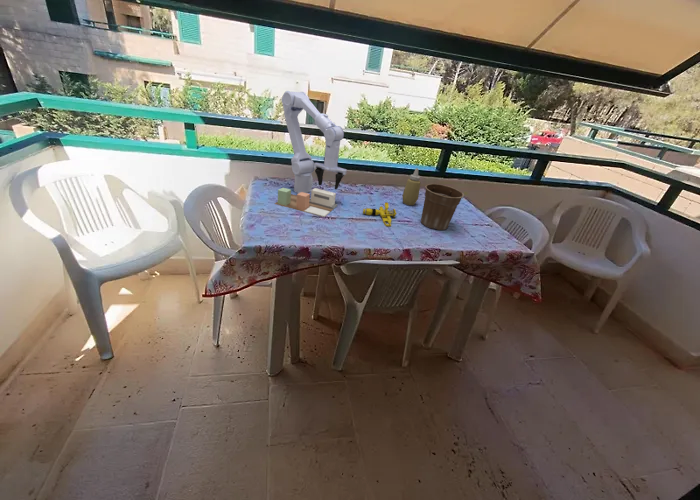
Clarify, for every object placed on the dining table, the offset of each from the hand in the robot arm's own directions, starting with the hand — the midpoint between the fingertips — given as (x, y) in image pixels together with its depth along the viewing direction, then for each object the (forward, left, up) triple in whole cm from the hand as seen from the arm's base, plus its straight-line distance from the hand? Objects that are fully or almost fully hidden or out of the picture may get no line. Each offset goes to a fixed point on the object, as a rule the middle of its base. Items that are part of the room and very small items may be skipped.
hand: (328, 186), depth 145 cm
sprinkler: (-1, +25, -8) cm, 27 cm away
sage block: (+14, -14, -7) cm, 21 cm away
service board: (+10, -6, -8) cm, 14 cm away
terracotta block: (+14, -6, -7) cm, 16 cm away
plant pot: (-8, +49, -8) cm, 50 cm away
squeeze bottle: (-27, +34, -8) cm, 44 cm away
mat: (+14, +1, -7) cm, 16 cm away
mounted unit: (+5, 0, -8) cm, 9 cm away
